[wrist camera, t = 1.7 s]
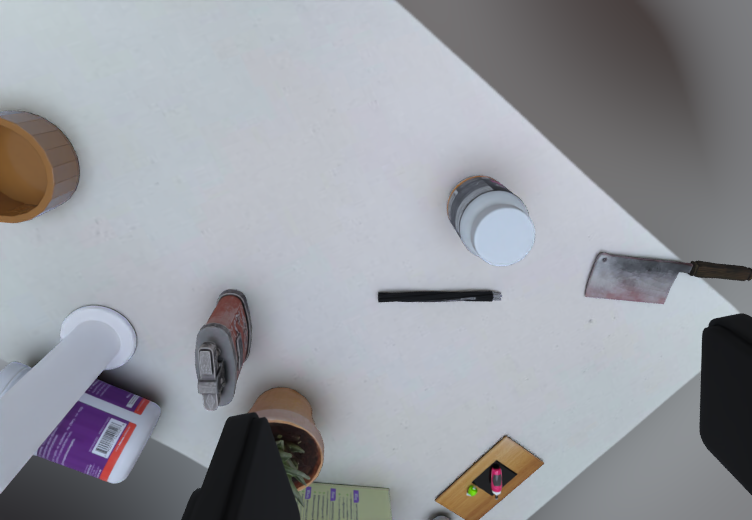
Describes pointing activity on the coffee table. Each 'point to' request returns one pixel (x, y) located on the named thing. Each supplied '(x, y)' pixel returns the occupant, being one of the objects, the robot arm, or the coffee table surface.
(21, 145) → the brown wooden bowl
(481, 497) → the board
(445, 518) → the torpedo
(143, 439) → the pill bottle
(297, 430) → the potted plant
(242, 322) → the lighter
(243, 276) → the coffee table surface
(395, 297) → the black pen
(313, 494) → the box
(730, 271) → the cleaver
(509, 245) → the pill bottle
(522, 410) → the coffee table surface
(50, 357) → the candle
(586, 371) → the coffee table surface
